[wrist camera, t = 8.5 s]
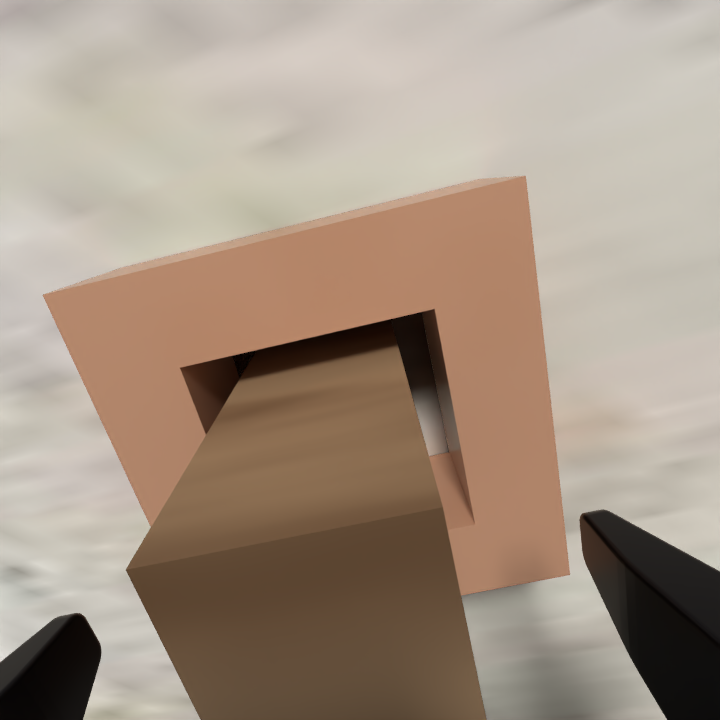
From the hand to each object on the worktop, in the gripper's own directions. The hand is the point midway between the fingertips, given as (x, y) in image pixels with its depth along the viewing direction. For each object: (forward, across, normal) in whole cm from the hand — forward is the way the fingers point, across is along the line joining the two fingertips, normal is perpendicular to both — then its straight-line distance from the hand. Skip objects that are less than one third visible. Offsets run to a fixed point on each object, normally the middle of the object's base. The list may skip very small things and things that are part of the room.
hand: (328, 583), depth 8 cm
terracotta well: (+9, 0, 0) cm, 9 cm away
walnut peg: (+9, 0, 0) cm, 9 cm away
